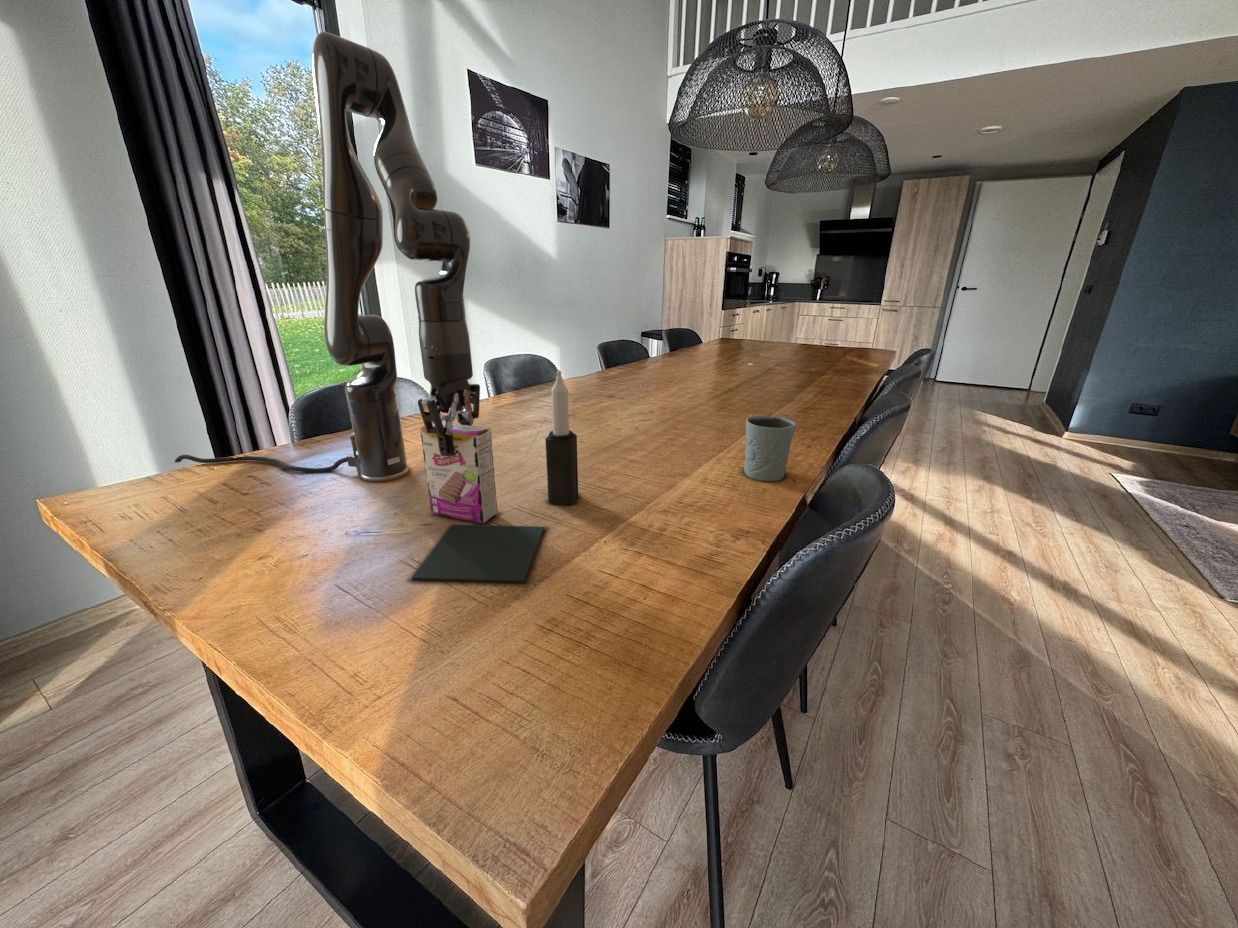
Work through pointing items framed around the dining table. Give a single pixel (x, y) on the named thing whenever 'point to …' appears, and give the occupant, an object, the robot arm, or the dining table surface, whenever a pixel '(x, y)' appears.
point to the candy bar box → (461, 474)
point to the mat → (482, 554)
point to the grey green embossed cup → (767, 447)
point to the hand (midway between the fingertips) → (457, 449)
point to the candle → (561, 450)
